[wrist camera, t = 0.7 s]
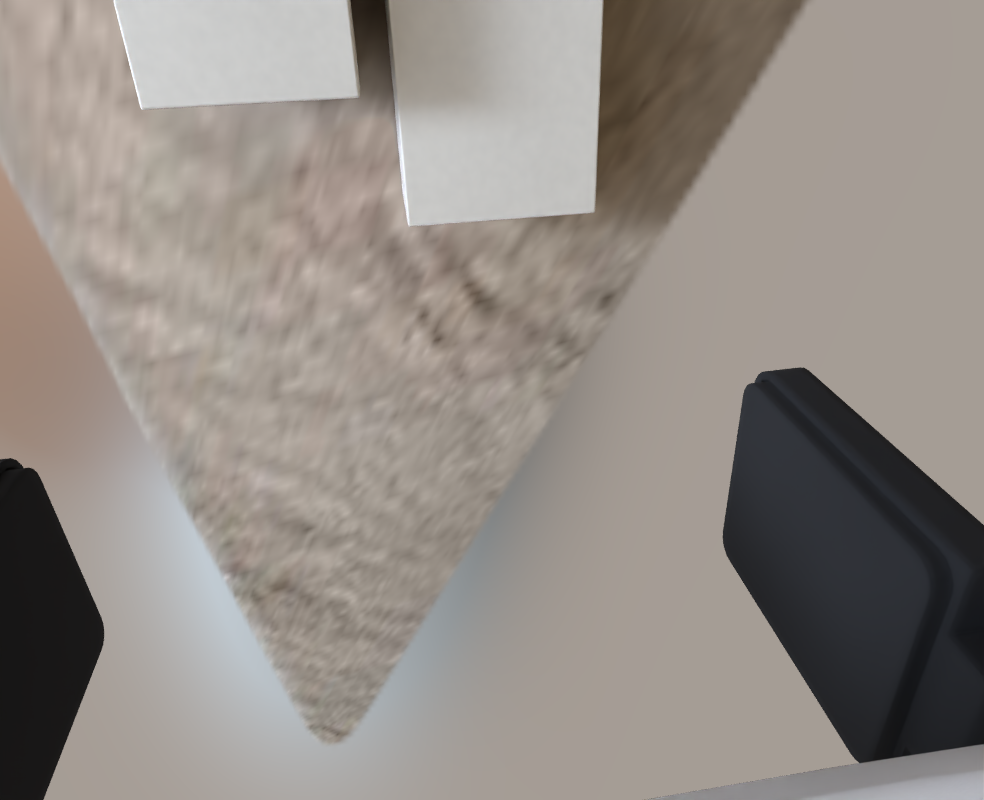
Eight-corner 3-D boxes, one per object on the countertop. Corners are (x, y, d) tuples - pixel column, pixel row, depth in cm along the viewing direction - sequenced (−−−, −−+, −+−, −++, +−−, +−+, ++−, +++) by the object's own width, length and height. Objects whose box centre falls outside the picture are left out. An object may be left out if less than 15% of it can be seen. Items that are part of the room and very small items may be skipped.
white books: (375, -104, 27) (377, -117, 23) (575, -109, 28) (609, -122, 24) (403, 198, 32) (408, 227, 29) (569, 186, 33) (595, 213, 29)
